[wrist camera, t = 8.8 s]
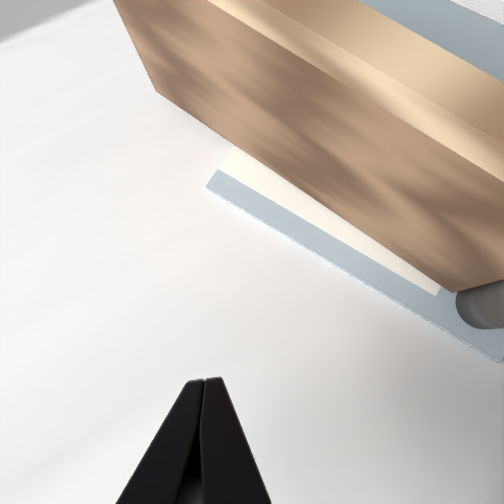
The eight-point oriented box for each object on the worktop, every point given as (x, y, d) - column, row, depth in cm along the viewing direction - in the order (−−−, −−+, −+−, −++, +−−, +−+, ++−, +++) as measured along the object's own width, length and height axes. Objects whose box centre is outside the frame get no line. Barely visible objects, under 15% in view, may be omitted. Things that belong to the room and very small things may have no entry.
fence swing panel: (464, 273, 20) (697, 192, 9) (449, 296, 19) (667, 241, 9) (169, 75, 23) (76, -159, 12) (153, 93, 23) (45, -129, 12)
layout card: (497, 362, 19) (501, 363, 19) (206, 188, 22) (205, 186, 22) (636, 91, 22) (642, 87, 22) (360, -35, 25) (362, -40, 24)
